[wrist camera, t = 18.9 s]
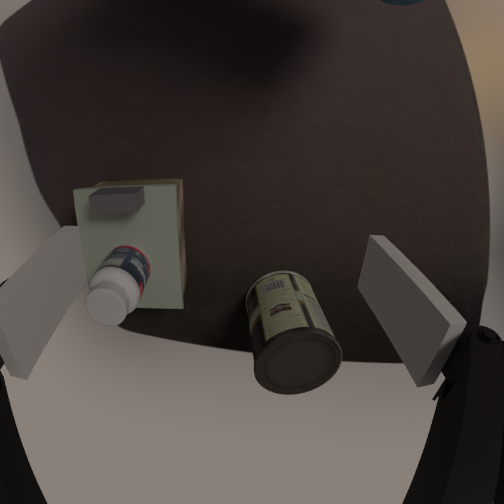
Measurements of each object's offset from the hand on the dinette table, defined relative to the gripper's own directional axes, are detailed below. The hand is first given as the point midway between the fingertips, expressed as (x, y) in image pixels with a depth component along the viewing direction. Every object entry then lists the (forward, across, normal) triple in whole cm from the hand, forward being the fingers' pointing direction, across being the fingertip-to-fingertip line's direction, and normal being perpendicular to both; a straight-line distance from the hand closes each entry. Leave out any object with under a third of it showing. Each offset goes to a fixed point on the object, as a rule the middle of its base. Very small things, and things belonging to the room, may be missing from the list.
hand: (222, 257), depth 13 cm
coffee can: (+26, +9, -20) cm, 34 cm away
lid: (+19, -11, -9) cm, 24 cm away
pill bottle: (+18, -10, -10) cm, 24 cm away
